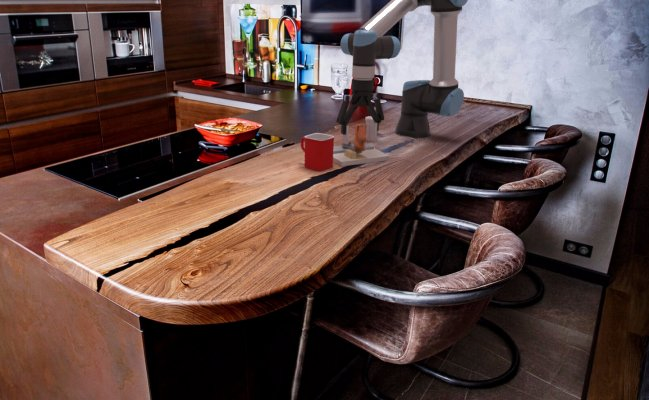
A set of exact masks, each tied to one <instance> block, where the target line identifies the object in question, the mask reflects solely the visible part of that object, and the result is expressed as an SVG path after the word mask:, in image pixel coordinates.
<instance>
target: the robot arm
mask: <svg viewBox="0 0 649 400" xmlns="http://www.w3.org/2000/svg"><path fill="white" fill-rule="evenodd" d="M467 3H468V0H390V1H389V2H388V3H386V4H385V5H384V6H383V7H382V8H381V9H380V10H379V11H377V13H376V14H374V15H373V16H372V17H371V18H370V19H368V21H367V22H366V23H364V24H363V25H362V26H361V27H360V28H359V29H357V30H355V31H354V32H353V33H352V32H350V33H346V34H344V35H343V36H342V38H341V40H340V48H341V51H342V53H343V54H344V55H346V56H347V55H348V56H352V67H351V68H352V70H351V77H352V79H351V88H350V89H351V94H343V95H342V103H341V106H340V108H339V112H338V114H337V118H336V121H335V122H336V123H337V124H338V125H341V127H340V130H341V131H340V134H341V135H342V142H343V143H344V144H348V141H349V137H350V136H349V133H350V125H348V124H349V122H350V120H351V119H352V117H353V116H354V113H355V112H356V110H357V109H358V108H359V107H360V108H361V107H366V109H367V111H368V113H369V114H370V116H372V118H373V120H374V122H371V139H370V140H373V141H376V142H377V139H378V134H377V131H378V132H379V129H380V124H381V123H382V122H383V121H385V116H384V111H383V110H384V109H383V106H382V103H381V102H382V101H381V97H382V95H381V93H378V92H374V91H373V90H374V85H375V84H374V83H375V80H374V78H375V71H376V70H375V65H376V60H390V59H394V58H397V56H398V55H399V54H400V52H401V42H400V40H399V38H397V37H396V36H393V35H385V34H386V33H387V32H388V31H389V30H391V29H392V28H393V26H395V25H396V24H397V23H398V22H399V21H400V20H401V19H403V18H404V17H405V16H406V15H407V14H408V13H409V12H413V11H415V10H416V9H417V8H419V7H424V6H425V7H426V6H428V7H429V6H430V13H431V14H432V15H433V17H434V21H433V22H434V25H433V27H434V30H433V63H432V64H433V67H432V68H433V69H432V70H433V73H432V74H433V75H432V79H431V80H429V79H418V80H417V79H415V80H408V81H405V82H404V83H403V84H402V85H403V87H402V91H401V93H402V95H401V105H400V106H401V107H400V108H401V109H400V116H399V119H398V121H397V124H396V126H395V134H396V135H398V136H401V137H407V138H426V137H429V136H430V135H431V128H430V123H429V122H430V121H429V117H428V116H429V114H434V115H439V116H441V117H453V116H455V115H456V114H457V113H459V112H460V109H461V107H462V106H463V104H464V103H463V102H464V98H465V93H464V90H463V89H461V88H460V87H459V80H458V79H457V78H456V62H457V61H456V57H457V40H458V36H457V35H458V34H457V33H458V19H459V18H458V16H459V14H460V13H461V12H462V11H463V6H465V5H466V4H467ZM373 92H374V93H373ZM372 99H373V103H374V104H373V103H372ZM374 107H375V108H376V111H375V109H374ZM376 138H377V139H376Z"/></svg>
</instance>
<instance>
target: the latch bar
mask: <svg viewBox="0 0 649 400" xmlns="http://www.w3.org/2000/svg"><path fill="white" fill-rule="evenodd" d="M366 127H367V125H366V123H365V124H364V123H356V124H355V125H354V140H353V141H354V142H353V144H354V146H353V145H351V144H352V143H351V141H349V140H348V144H344V143H343V141H342V143H341V146H342V147H343V148H346V149H350V150H352V151H354V152H356V153H362V151H365V145H366V143H367V129H366Z"/></svg>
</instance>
